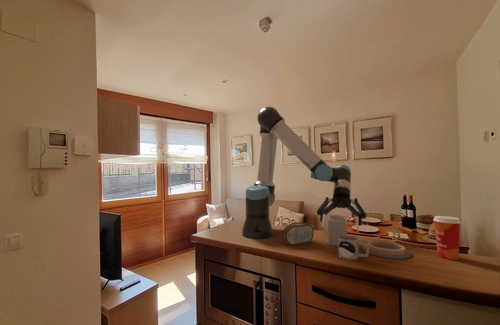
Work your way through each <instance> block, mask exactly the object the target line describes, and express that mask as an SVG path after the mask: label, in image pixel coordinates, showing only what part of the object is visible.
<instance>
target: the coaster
mask: <svg viewBox="0 0 500 325" xmlns="http://www.w3.org/2000/svg"><path fill="white" fill-rule="evenodd" d="M366 244H368V247H369V255H372V256H375V257H378V258H379V257H380V258H384V259H390V260H404V259H407V260H408V259H410V258H411V257H412V253H411V252H412V251H410V250H408V249H407V248H406V246H403V245H402V244H399V243H396V242H392V241H387V240H369V241H368V242H366ZM361 246H362V250H363V252H365V253H366V248H365V246H363V245H361Z"/></svg>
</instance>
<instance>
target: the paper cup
mask: <svg viewBox="0 0 500 325" xmlns="http://www.w3.org/2000/svg"><path fill="white" fill-rule="evenodd" d="M432 221H433V223H434V230H435V231H434V232H435V241H436V248H437V250H436V251H437V256H438V257H439V258H441V259H446V260H450V259H451V261H458V260H459V256H460V229H461V228H460V227H461V226H460V225H461V223H462V222H461V221H460V218H458V217H454V216H446V215H443V216H442V215H434V218H433V219H432Z"/></svg>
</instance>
